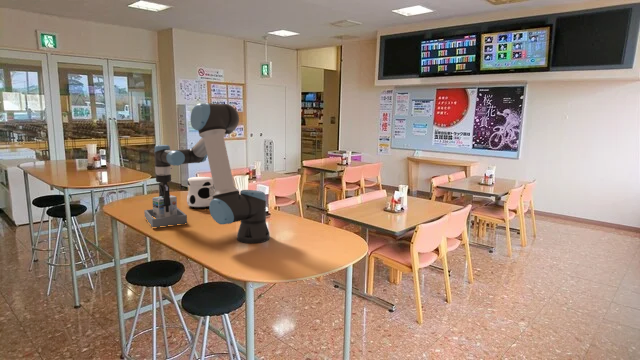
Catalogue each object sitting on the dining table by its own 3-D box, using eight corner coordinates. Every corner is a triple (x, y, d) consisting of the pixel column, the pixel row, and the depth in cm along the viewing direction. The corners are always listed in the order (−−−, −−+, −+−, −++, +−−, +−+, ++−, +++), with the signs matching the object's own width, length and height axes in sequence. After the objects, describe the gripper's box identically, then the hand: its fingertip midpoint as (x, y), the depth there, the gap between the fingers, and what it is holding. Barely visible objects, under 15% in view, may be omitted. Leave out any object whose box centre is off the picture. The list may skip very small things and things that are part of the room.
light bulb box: (159, 219, 202) (158, 199, 200) (152, 217, 206) (151, 197, 205) (177, 215, 211) (177, 196, 209) (170, 213, 215) (170, 194, 213)
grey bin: (187, 224, 205) (186, 215, 204) (152, 229, 195) (152, 219, 194) (176, 215, 223) (176, 206, 222) (144, 218, 213) (144, 210, 212)
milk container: (185, 204, 248) (184, 177, 245) (213, 202, 256) (212, 175, 253) (188, 210, 233) (187, 181, 230) (218, 208, 240) (217, 180, 237)
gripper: (175, 176, 198) (177, 219, 202) (166, 171, 215) (168, 210, 219) (160, 177, 194) (162, 221, 198) (151, 172, 211) (153, 212, 215)
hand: (165, 215), depth 208 cm, fingers closed on light bulb box, 8 cm apart
